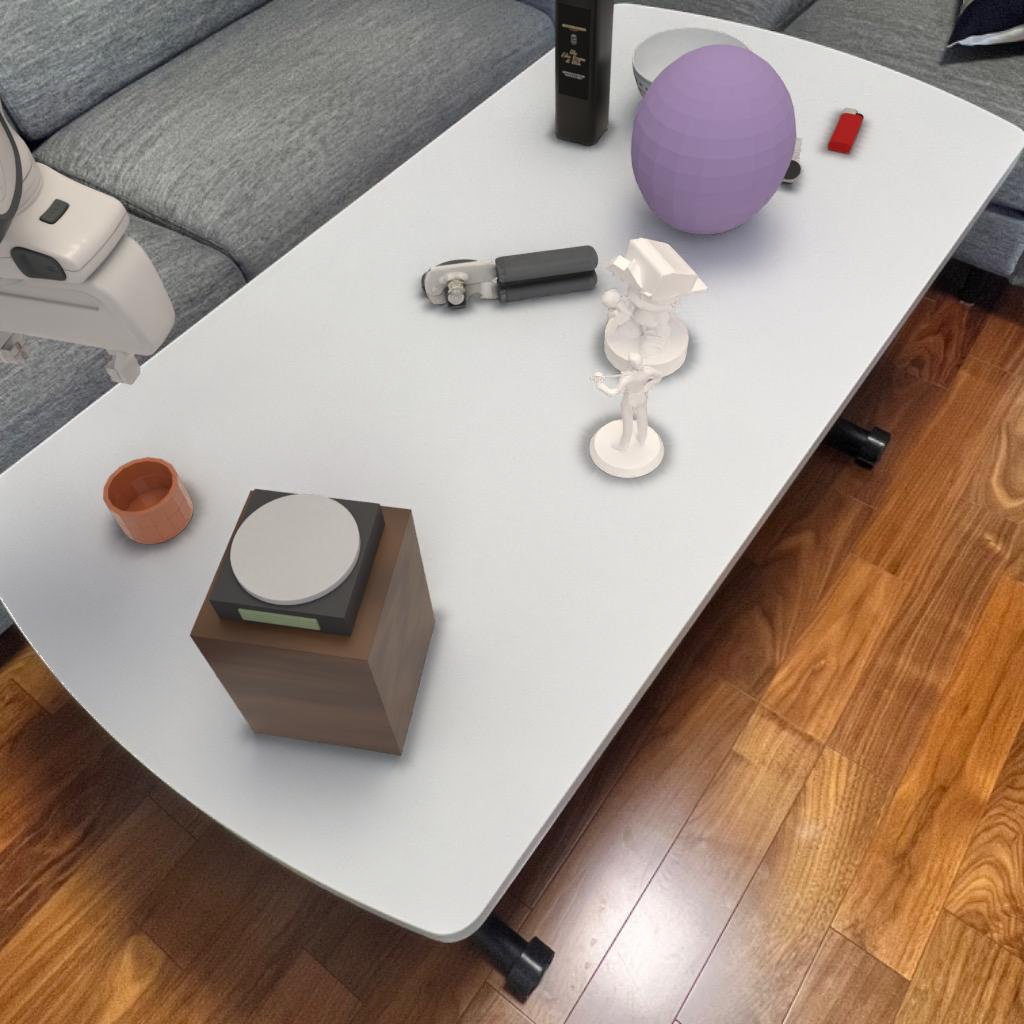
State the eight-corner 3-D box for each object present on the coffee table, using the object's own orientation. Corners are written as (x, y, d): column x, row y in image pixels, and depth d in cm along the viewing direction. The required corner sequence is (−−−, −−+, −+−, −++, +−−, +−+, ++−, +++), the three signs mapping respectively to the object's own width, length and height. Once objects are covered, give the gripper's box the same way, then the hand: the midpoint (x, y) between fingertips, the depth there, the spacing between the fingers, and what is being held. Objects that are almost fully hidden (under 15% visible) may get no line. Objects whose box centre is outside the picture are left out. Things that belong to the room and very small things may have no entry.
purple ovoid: (681, 162, 116) (701, -5, 99) (803, 215, 109) (846, 44, 92) (595, 231, 108) (602, 63, 92) (721, 293, 101) (751, 122, 85)
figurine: (642, 411, 92) (652, 319, 82) (677, 462, 88) (692, 372, 78) (576, 434, 90) (578, 343, 81) (609, 487, 86) (615, 399, 77)
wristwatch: (773, 188, 112) (781, 151, 108) (778, 164, 114) (786, 127, 110) (798, 192, 111) (807, 154, 107) (802, 167, 114) (811, 130, 110)
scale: (350, 638, 60) (341, 615, 58) (218, 620, 61) (204, 596, 59) (385, 523, 65) (378, 498, 63) (263, 508, 66) (252, 482, 64)
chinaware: (621, 88, 126) (624, 31, 120) (732, 81, 126) (741, 23, 120) (636, 153, 117) (641, 95, 111) (755, 145, 117) (767, 86, 111)
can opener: (424, 317, 101) (418, 280, 97) (421, 278, 105) (416, 241, 101) (600, 300, 101) (602, 262, 97) (591, 261, 105) (592, 224, 101)
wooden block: (401, 755, 72) (367, 660, 59) (253, 732, 74) (189, 635, 61) (435, 620, 79) (411, 509, 66) (299, 602, 80) (250, 489, 67)
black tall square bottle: (592, 148, 118) (601, -121, 94) (552, 138, 120) (550, -130, 95) (611, 125, 121) (624, -143, 97) (571, 115, 123) (574, -150, 98)
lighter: (828, 140, 115) (843, 106, 119) (826, 149, 116) (841, 115, 120) (852, 145, 114) (866, 110, 118) (849, 154, 115) (863, 120, 119)
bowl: (177, 548, 84) (160, 519, 81) (110, 539, 85) (90, 510, 81) (203, 491, 88) (188, 461, 84) (139, 483, 89) (121, 453, 85)
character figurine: (589, 336, 98) (592, 242, 88) (666, 306, 100) (678, 212, 91) (631, 390, 93) (639, 297, 84) (711, 357, 96) (729, 263, 86)
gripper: (-185, 224, 60) (-69, 375, 71) (96, 268, 57) (172, 419, 68) (-123, 167, 64) (-21, 320, 75) (145, 205, 60) (210, 359, 71)
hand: (73, 367), depth 71 cm, fingers open, 8 cm apart
